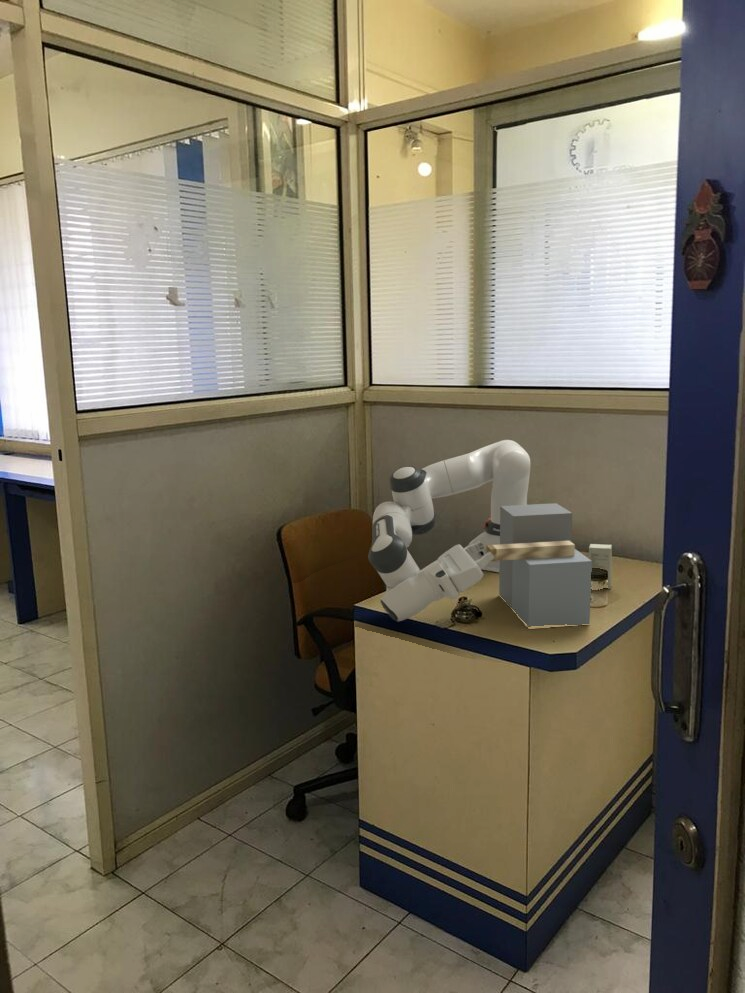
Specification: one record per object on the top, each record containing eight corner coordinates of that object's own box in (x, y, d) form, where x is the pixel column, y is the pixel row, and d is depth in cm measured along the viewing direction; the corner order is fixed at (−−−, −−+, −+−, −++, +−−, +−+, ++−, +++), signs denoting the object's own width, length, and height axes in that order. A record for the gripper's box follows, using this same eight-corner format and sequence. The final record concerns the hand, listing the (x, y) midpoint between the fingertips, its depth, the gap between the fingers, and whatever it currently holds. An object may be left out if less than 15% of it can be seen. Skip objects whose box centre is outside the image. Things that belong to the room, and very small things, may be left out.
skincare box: (611, 585, 239) (613, 544, 236) (610, 589, 235) (612, 548, 232) (588, 583, 241) (590, 542, 238) (587, 587, 237) (588, 546, 234)
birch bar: (490, 561, 206) (490, 549, 206) (486, 556, 210) (486, 545, 210) (574, 556, 209) (574, 544, 208) (568, 551, 213) (569, 540, 212)
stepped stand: (528, 629, 206) (530, 529, 201) (499, 595, 231) (500, 506, 226) (589, 625, 208) (593, 526, 203) (553, 592, 233) (556, 503, 228)
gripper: (438, 575, 218) (482, 548, 218) (455, 601, 198) (504, 571, 198) (426, 556, 217) (470, 528, 217) (443, 580, 197) (492, 550, 197)
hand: (487, 549), depth 207 cm, fingers open, 8 cm apart
